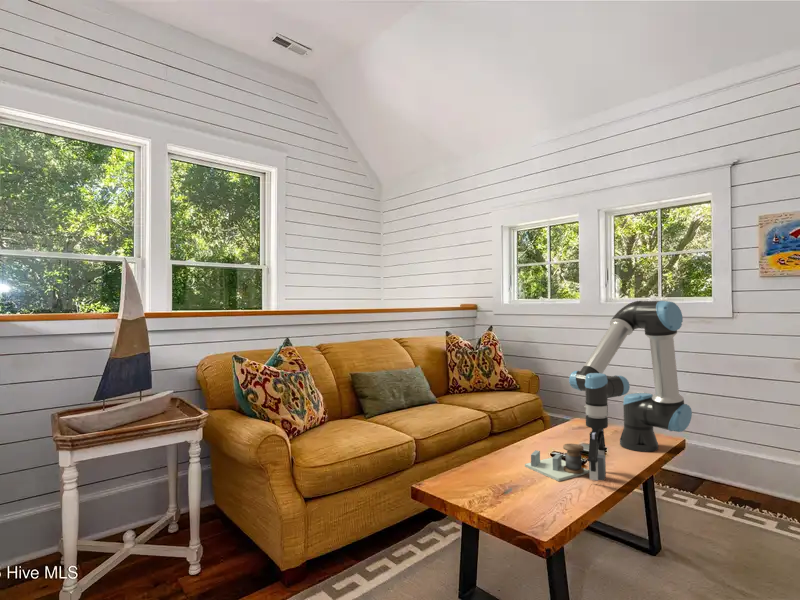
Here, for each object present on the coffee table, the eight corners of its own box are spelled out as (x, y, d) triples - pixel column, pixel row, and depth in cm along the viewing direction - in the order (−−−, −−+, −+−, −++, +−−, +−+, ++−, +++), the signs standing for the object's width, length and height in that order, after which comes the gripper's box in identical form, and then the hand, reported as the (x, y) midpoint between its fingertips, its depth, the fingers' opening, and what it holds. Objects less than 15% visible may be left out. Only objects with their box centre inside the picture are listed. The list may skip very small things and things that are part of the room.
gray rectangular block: (591, 474, 179) (591, 453, 179) (605, 476, 176) (605, 455, 176) (589, 478, 175) (588, 456, 175) (603, 480, 173) (603, 458, 173)
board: (554, 459, 196) (554, 456, 196) (589, 472, 180) (589, 470, 180) (524, 466, 188) (524, 463, 188) (558, 481, 173) (558, 478, 173)
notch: (535, 461, 191) (535, 450, 191) (561, 465, 185) (561, 454, 185) (531, 466, 186) (530, 454, 186) (557, 470, 180) (557, 459, 180)
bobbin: (572, 465, 185) (572, 442, 185) (588, 471, 179) (587, 447, 179) (559, 469, 182) (559, 445, 182) (574, 475, 176) (574, 450, 176)
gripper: (592, 407, 188) (592, 461, 188) (578, 422, 167) (579, 483, 167) (612, 409, 184) (613, 464, 184) (601, 425, 163) (602, 487, 163)
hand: (597, 473), depth 176 cm, fingers open, 13 cm apart
